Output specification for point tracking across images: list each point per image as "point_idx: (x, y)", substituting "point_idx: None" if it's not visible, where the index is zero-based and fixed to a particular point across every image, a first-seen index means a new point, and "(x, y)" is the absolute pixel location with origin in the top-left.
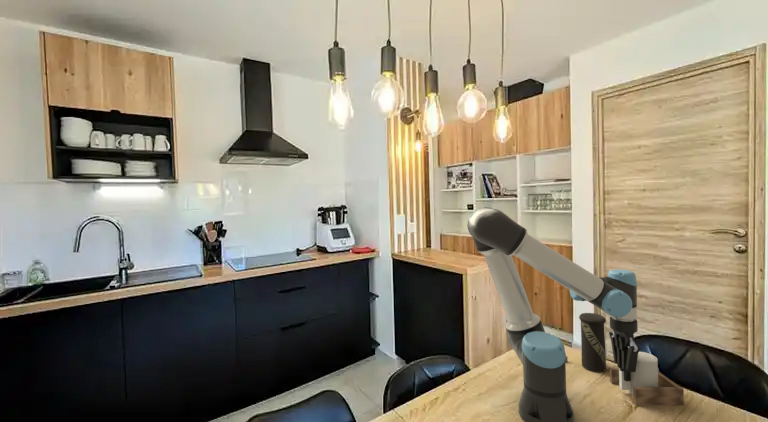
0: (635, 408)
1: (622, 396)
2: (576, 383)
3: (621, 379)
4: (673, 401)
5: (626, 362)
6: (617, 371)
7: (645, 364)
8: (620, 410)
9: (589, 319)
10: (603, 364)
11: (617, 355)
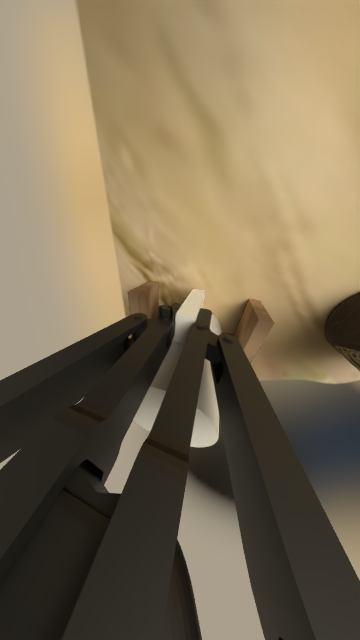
0: (139, 270)
1: (186, 278)
2: (322, 139)
3: (188, 299)
4: None
5: (111, 338)
6: (248, 331)
7: None
8: (128, 224)
9: None
10: (342, 342)
11: (198, 365)
